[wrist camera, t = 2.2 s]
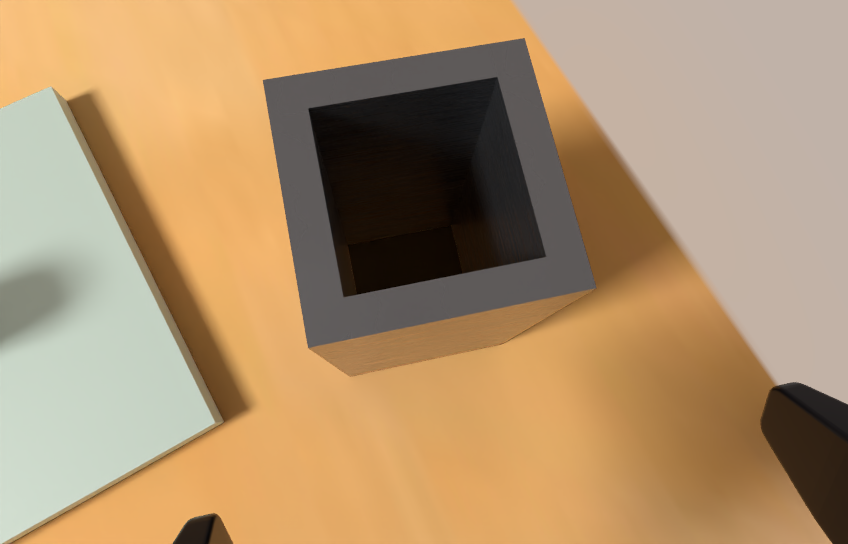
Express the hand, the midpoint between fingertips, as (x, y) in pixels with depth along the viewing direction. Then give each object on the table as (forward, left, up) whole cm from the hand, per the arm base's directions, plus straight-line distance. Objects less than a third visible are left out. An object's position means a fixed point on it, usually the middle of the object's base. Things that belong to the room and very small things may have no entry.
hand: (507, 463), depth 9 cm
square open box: (+5, -2, -11) cm, 12 cm away
